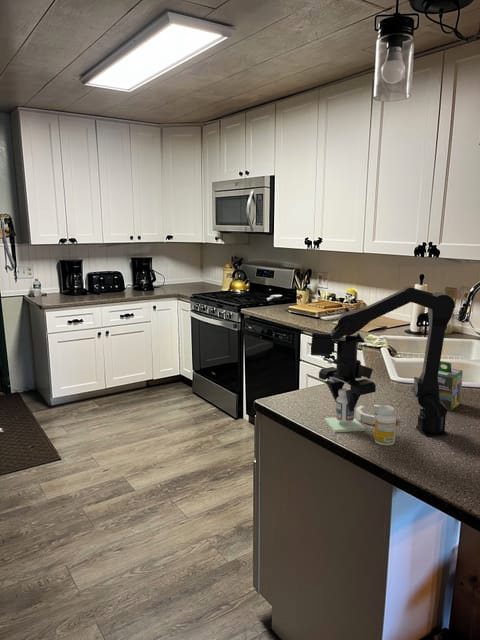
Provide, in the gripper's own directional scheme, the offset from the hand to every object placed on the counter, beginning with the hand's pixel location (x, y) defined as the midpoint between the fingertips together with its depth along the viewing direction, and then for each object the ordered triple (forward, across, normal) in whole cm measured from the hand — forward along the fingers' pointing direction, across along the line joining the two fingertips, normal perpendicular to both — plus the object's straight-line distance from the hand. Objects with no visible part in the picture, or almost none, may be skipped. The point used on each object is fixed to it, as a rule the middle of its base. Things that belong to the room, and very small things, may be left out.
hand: (345, 408), depth 140 cm
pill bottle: (+4, 0, 0) cm, 4 cm away
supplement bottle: (+6, -14, -2) cm, 15 cm away
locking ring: (+5, 0, -12) cm, 13 cm away
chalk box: (+6, -2, -40) cm, 40 cm away
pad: (+5, 0, 0) cm, 5 cm away
